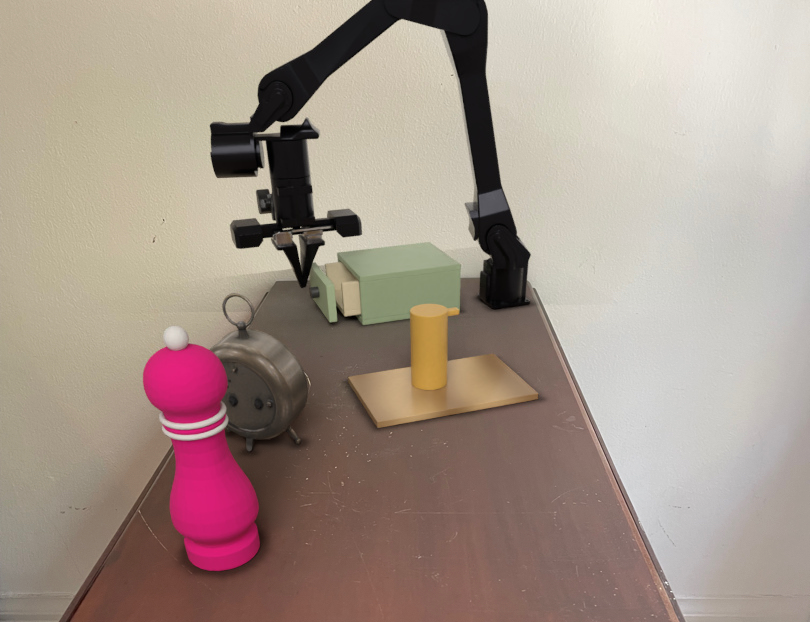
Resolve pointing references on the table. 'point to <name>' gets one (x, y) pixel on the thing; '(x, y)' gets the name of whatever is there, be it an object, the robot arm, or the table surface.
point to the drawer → (335, 290)
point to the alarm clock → (260, 382)
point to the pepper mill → (202, 455)
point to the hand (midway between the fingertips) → (302, 287)
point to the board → (440, 391)
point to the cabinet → (402, 280)
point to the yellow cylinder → (429, 345)
